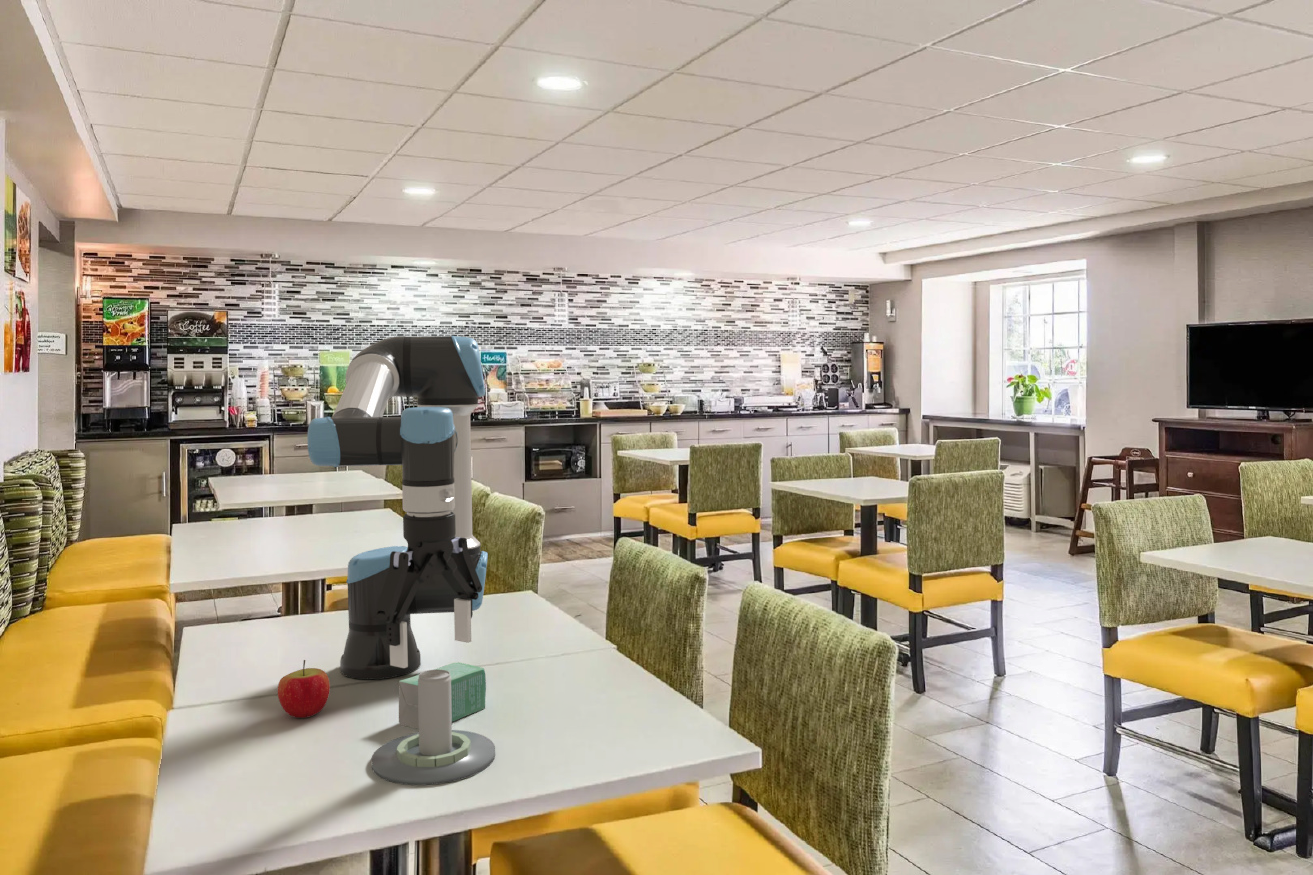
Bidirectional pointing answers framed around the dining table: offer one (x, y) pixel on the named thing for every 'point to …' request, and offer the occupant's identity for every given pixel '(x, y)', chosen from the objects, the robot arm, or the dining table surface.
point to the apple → (304, 692)
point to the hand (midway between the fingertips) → (432, 653)
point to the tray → (433, 759)
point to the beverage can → (434, 712)
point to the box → (464, 693)
